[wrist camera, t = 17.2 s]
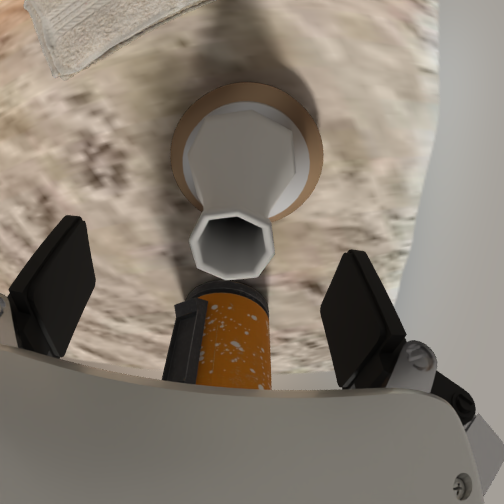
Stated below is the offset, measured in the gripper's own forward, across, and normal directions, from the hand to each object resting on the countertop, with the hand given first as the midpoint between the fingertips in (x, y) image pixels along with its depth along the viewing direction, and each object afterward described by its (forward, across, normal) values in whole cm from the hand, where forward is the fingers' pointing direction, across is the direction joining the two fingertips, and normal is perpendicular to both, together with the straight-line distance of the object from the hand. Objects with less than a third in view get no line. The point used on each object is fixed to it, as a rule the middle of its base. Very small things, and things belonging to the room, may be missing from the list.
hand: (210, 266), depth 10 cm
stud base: (+14, -2, 0) cm, 14 cm away
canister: (+14, -2, +16) cm, 22 cm away
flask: (+11, -1, 0) cm, 11 cm away
